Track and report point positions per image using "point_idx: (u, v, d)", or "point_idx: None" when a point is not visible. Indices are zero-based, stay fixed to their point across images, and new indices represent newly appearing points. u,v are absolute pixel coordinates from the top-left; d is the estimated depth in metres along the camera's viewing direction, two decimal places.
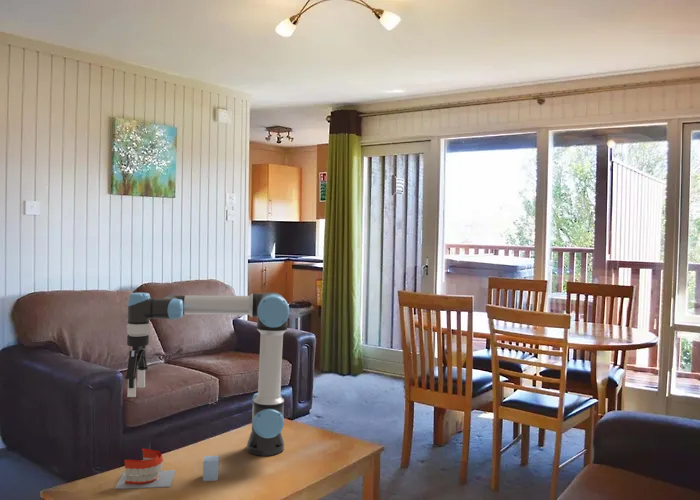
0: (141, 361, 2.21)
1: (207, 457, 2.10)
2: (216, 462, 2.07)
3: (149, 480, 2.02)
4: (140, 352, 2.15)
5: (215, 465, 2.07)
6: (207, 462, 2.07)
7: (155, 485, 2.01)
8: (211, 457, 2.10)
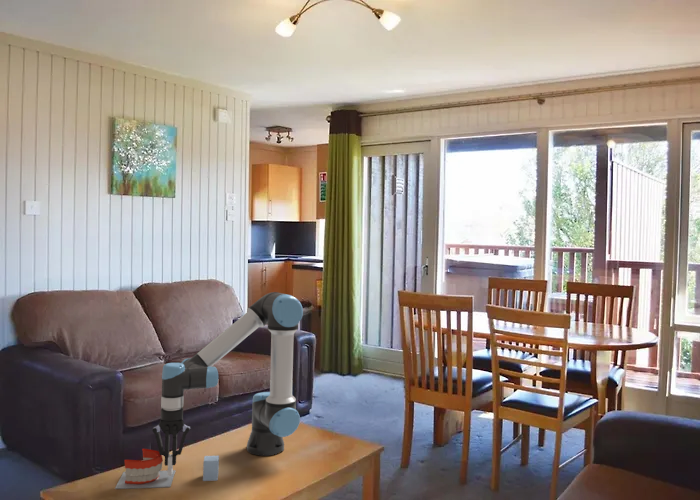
0: None
1: (207, 457, 2.10)
2: (216, 462, 2.07)
3: (149, 480, 2.02)
4: (165, 428, 2.05)
5: (215, 465, 2.07)
6: (207, 462, 2.07)
7: (155, 485, 2.01)
8: (211, 457, 2.10)
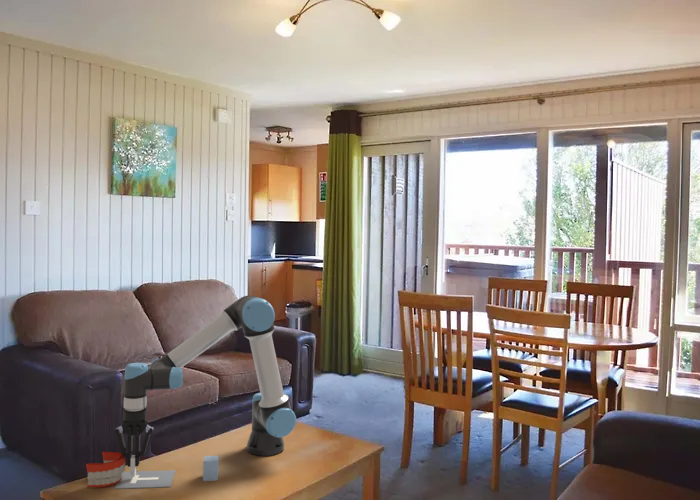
0: None
1: (207, 457, 2.10)
2: (216, 462, 2.07)
3: (113, 482, 2.00)
4: (128, 429, 2.03)
5: (215, 465, 2.07)
6: (207, 462, 2.07)
7: (155, 485, 2.01)
8: (211, 457, 2.10)
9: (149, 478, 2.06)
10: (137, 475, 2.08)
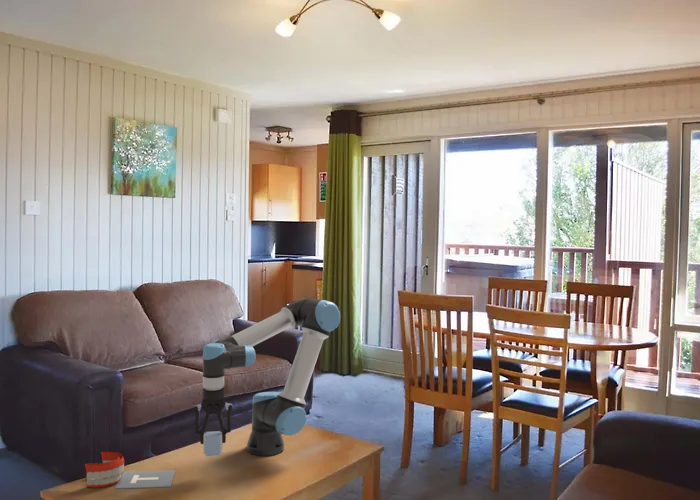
0: (219, 420, 2.09)
1: (209, 433, 2.10)
2: (218, 437, 2.07)
3: (112, 482, 2.00)
4: (207, 407, 2.07)
5: (217, 440, 2.07)
6: (209, 438, 2.07)
7: (155, 485, 2.01)
8: (213, 433, 2.10)
9: (149, 478, 2.06)
10: (137, 475, 2.08)
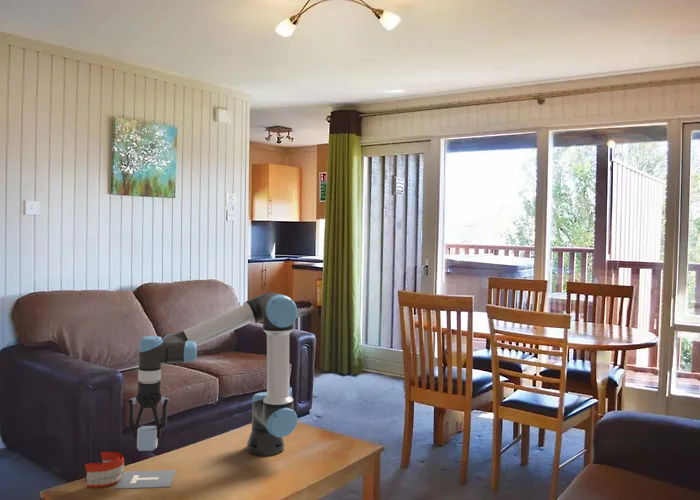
0: None
1: (144, 427, 2.06)
2: (152, 432, 2.03)
3: (112, 482, 2.00)
4: (142, 401, 2.04)
5: (150, 435, 2.03)
6: (142, 432, 2.03)
7: (155, 485, 2.01)
8: (148, 427, 2.06)
9: (149, 478, 2.06)
10: (137, 475, 2.08)
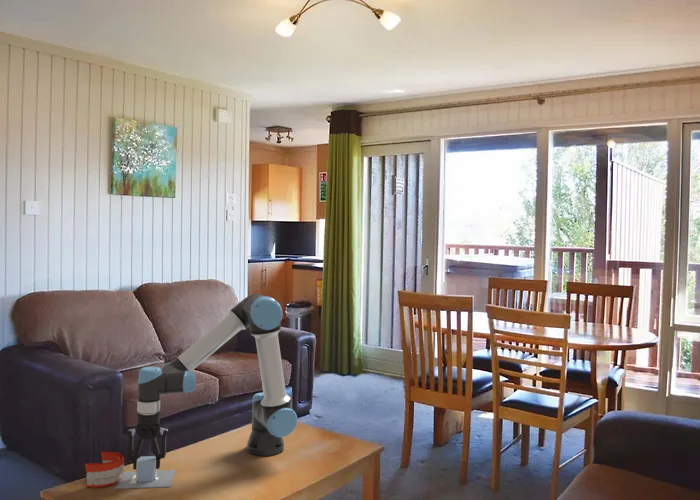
0: None
1: (143, 458, 2.06)
2: (151, 463, 2.03)
3: (112, 482, 2.00)
4: (141, 432, 2.04)
5: (150, 466, 2.03)
6: (141, 463, 2.03)
7: (155, 485, 2.01)
8: (147, 458, 2.06)
9: None
10: None
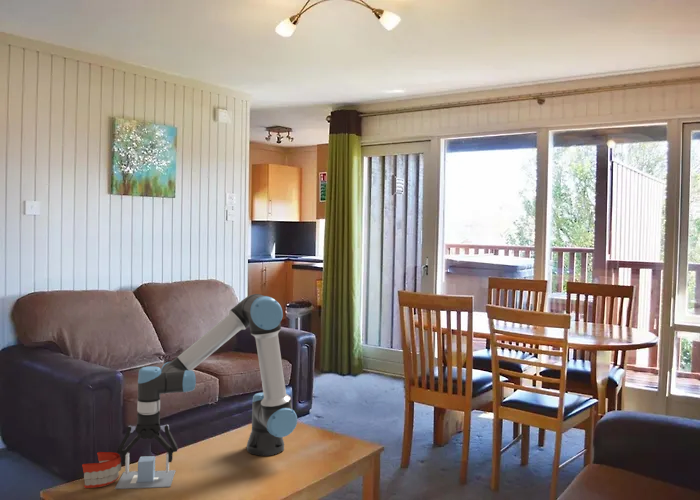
0: None
1: (143, 458, 2.06)
2: (151, 463, 2.03)
3: (110, 481, 1.99)
4: (141, 431, 2.04)
5: (149, 466, 2.03)
6: (141, 463, 2.03)
7: (155, 485, 2.01)
8: (147, 458, 2.06)
9: None
10: (137, 475, 2.08)
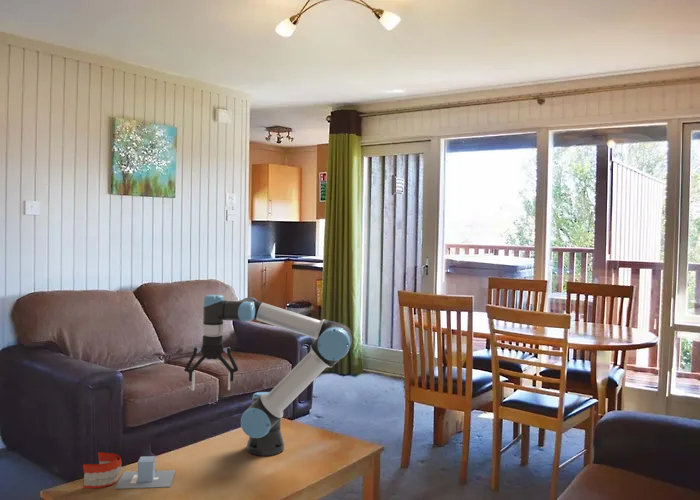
0: None
1: (143, 458, 2.06)
2: (151, 463, 2.03)
3: (109, 483, 1.99)
4: (206, 351, 2.25)
5: (149, 466, 2.03)
6: (141, 463, 2.03)
7: (155, 485, 2.01)
8: (147, 458, 2.06)
9: None
10: (137, 475, 2.08)
